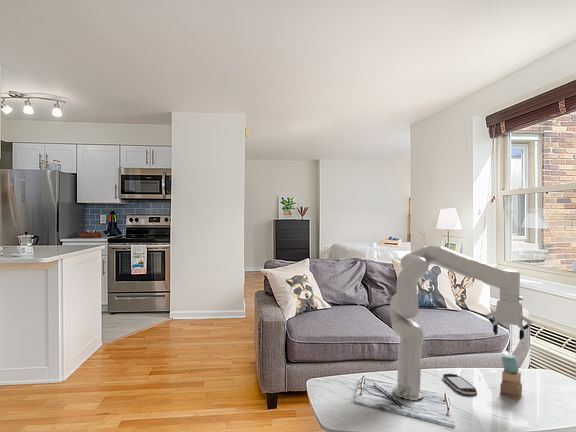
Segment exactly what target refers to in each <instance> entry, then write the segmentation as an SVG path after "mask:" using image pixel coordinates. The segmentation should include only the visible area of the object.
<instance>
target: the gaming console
mask: <svg viewBox="0 0 576 432" xmlns="http://www.w3.org/2000/svg"><path fill="white" fill-rule="evenodd" d="M442 379H443V381H444V382H446V383H447V384H448V385H449V386H451V388H452V389H453V390H455V391H456V392H457V393H458V394H461V395H464V396H475V395H477V394H478V391H477V389H476V387H475V386H473V385H472V384H471V383H470V382H468V381H467V380H466V379H465V378H463V377H462V376H459V375H458V374H455V373H444V374H442Z"/></svg>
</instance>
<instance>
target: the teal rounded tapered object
mask: <svg viewBox="0 0 576 432" xmlns="http://www.w3.org/2000/svg"><path fill="white" fill-rule="evenodd" d="M501 361H502V366H503V371H505V372H508V373H516V372H520V370H519V366H518V361H517V357H516V356H515V355H514V354H513V355H512V354H503V355H502V356H501Z"/></svg>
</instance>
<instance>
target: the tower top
mask: <svg viewBox="0 0 576 432" xmlns="http://www.w3.org/2000/svg"><path fill="white" fill-rule="evenodd" d="M501 374H502V375H501V379H502V380H501V382H502V384H505V385H509V386H513V387H516V388H518V387H519V385H520V384H521V383H522V382H521V380H522V379H521V376H522V373H521V371H518V372H516V373H508V372H505V371H504V370H503V371H502V372H501Z"/></svg>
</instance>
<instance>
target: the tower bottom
mask: <svg viewBox="0 0 576 432" xmlns="http://www.w3.org/2000/svg"><path fill="white" fill-rule="evenodd" d="M499 393H500V394H499V395H500V396H505V397H507V398H510V399H514V400H516V401H517V400H518V401H519V400H520V398H521V397H522V394H523V383H522V382H521V384H520V385H519V387H518V388H516V387H513V386H509V385H505V384H502V381H501V382H500V391H499Z"/></svg>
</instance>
